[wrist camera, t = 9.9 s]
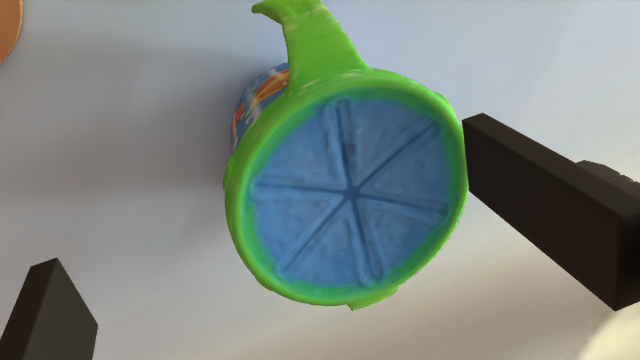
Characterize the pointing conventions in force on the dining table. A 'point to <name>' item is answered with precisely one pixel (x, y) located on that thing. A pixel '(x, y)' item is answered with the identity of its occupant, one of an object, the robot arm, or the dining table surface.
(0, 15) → the cork coaster
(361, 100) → the snack cup
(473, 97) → the dining table surface
